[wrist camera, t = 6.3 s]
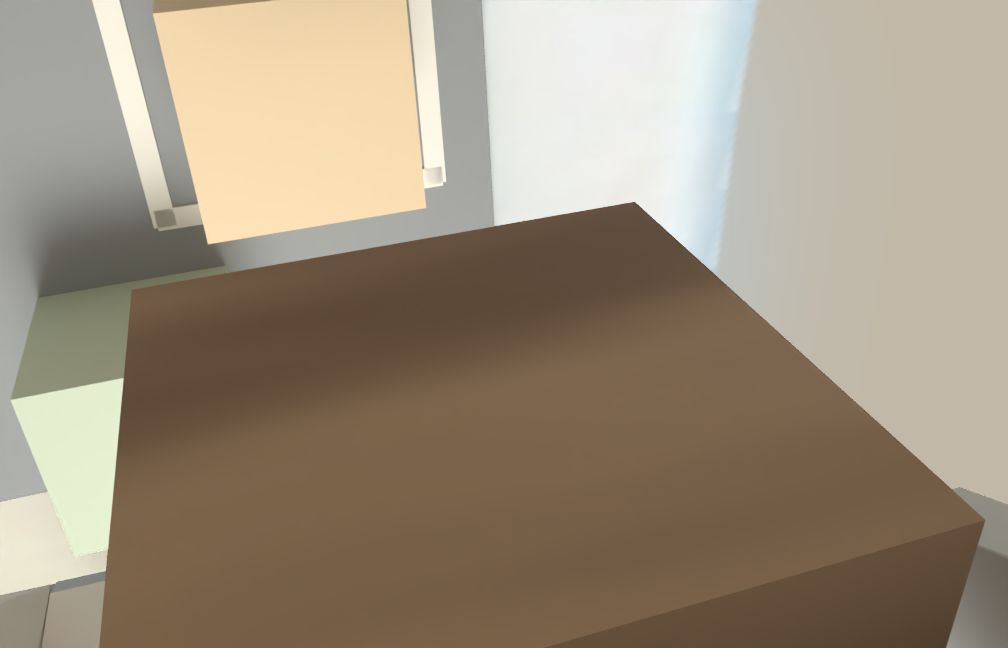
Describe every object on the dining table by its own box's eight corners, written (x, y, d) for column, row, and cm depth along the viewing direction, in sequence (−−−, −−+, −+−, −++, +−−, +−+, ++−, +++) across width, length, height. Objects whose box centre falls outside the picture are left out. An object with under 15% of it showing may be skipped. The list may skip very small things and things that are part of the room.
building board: (-462, -574, 16) (-743, -731, 11) (441, -547, 19) (528, -655, 15) (2, 485, 28) (-33, 628, 23) (496, 379, 32) (552, 484, 27)
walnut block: (131, 290, 8) (84, 779, 4) (634, 202, 9) (985, 519, 5) (239, 652, 11) (276, 1176, 7) (623, 550, 12) (854, 943, 8)
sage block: (37, 297, 25) (10, 400, 21) (225, 265, 26) (234, 356, 22) (89, 441, 27) (74, 557, 23) (258, 406, 29) (272, 510, 24)
